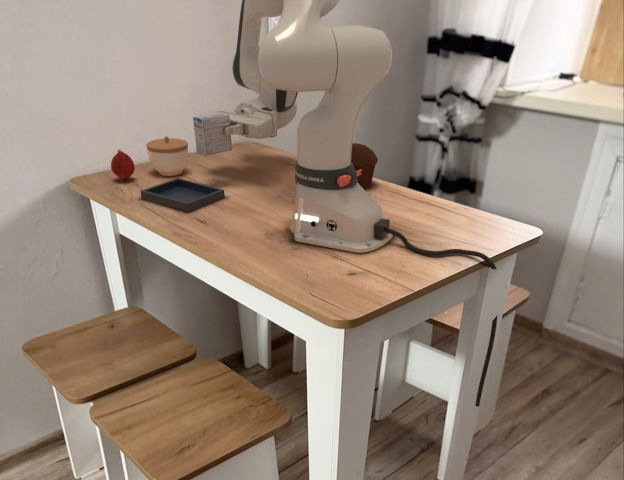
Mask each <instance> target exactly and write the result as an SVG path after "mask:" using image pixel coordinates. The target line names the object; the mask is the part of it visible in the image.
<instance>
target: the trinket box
mask: <svg viewBox="0 0 624 480" xmlns="http://www.w3.org/2000/svg"><path fill="white" fill-rule="evenodd" d="M145 146H146V150H147V156H148V159H149V162H150V164H151V166H152V168H153V169H154V170H155V171H156V172H158V174H159V175H160V176H164V177H173V176H178V175H180V174H182V173H183V171H184V170H185V168H186V167H187V164H188V160H189V148H188V147H189V143H188V141H187V140H184V139H183V138H174V137H173V138H171V137H170V138H169V136H164V137H163V138H158V139H153V140H150V141H148V142H147V143H146V145H145Z"/></svg>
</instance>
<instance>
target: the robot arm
mask: <svg viewBox="0 0 624 480" xmlns="http://www.w3.org/2000/svg"><path fill="white" fill-rule="evenodd" d="M339 2H340V0H241V5H240V12H239V21H238V30H237V41H236V48H235V49H236V50H235V54H234V58H233V61H232V67H231V69H232V70H231V71H232V75H233V78H234V80H235V83H236V84H237V85H238V86H239V87H243V88H245V89H247V90H250V91H252V92H255V93H257V94H258V97H257V98H255V99H251V100H247V101H242V102H240V103H239V104H238V105H237V106H236V107H235V110H234V111H232V110H227V109H212V110H207V111H203V112H201V113H200V114H199V116H201V115H207V114H213V113H224V114H227V115H229V116H230V126H226V127H223V134H224V135H228V136H229V135H231V136H233V135H237V136H243V137H245V138H248V139H258V140H260V139H262V140H263V139H267V138H271V139H272V138H276V137H278V130H280V129H282V128H284V127H286V126H287V125H289V124H291V122H292V121H293V120H294V119H295V118H296V115H297V111H298V107H297V102H296V100H297V98H298V94H299V93H306V92H307V93H308V92H324V93H323V95H322V98H321V100H320V102H319V103H318V105H317V106H316V107H314V108H313V109H311V110H310V111H308V112H307V113H305V114H304V115H303V116H302V117H301V119H300V121H299V123H298V125H297V129H296V155H297V156H296V161H295V163H294V164H295V165H294V181H295V185H296V189H295V200H294V206H293V213H292V216H291V220H290V221H291V222H290V224H289V230H290V232H291V233H292V234H293V236H294V237H293V240H294V241H295V242H298V243H302V244H309V245H313V246H319V247H324V248H329V249H334V250H341V251H346V252H351V253H352V252H353V253H356V254H364V253H368V252H372V251H375V250H377V249H379V248H382V247H383V246H384V245H386V244H387V243H388V242H390V241H391V240H392V239H393V236H395V237H397V238H398V239H399V240H400V241H401V242H402V243H403V245H404V246H405V247H406V248H408V249H409V250H411V251H413V252H414V253H416V254H421V255H425V256H430V257H431V256H433V257H440V256H447V255H464V256H465V255H466V256H472V257H477V258H479V259H481V260H483V261H484V262H485V263H486V264H487V265H488V267H489V268H490V269H492V270H498V268H497V265H496V264H495V263H494V262H493V260H492V259H491V258H490V257H489V256H488V255H486V254H484V253H482V252H480V251H476V250H469V249H462V248H450V249H443V250H429V249H423V248H419V247H416V246H415V245H413V244H412V243H410V242H409V241H408V240H407V237H406V236H404V235H403V233H400V232H399V231H397V230H394V229H393V228H392V227H390V224H391V220H390V219H386V218H384V217H383V210H382V207H381V206H380V204H379V202H377V201H376V200H375V199H374V198H373V197H372V196H371V195H370V194H369V193H368V192H367V191H366V189H363V188H362V187H361V186H360V185H359V184H358V183H357V182H358V180H357V176H359V175H361V174H362V173H360V172H361V171H362V169H360V170H358V171H355V169H354V167H353V164H352V162H351V152H352V143H353V142H354V141H353V140H354V134H355V133H354V131H355V126H356V121H357V118H358V116H359V113H360V111H361V109H362V107H363V105H364V104H365V101H366V100H367V98H368V97H369V95H370V94H371V93H372V92H373V90H375V88H377V87H378V86H379V85H380V84H382V83H383V82H384V80H385V79H386V77H387V76H388V74H389V72H390V70H391V67H392V62H393V49H392V45H391V41H390V40H389V37H388V36H387V34H386V33H385V32H384V30H381V29H378V28H375V27H371V26H366V25H360V24H353V25H352V24H347V25H346V24H345V25H344V24H343V25H342V24H341V25H327V24H324V23H323V22H322V20H321V18H323V17H325V16H327V15H328V14H329V13H330V12H332V10H334V9H335V7H336V6H338V4H339ZM277 17H279V19H278V21H277V23H276V24H275V25H274V26H273V28H272V29H271V30H270V31H268V33H266V35H265V36H264V38H263V40H262V41H261V43H260V37H261V30H262V23H263V18H277ZM359 173H360V174H359ZM498 316H499V315H498V314H497V315H496V316H495V317H493V320H492V321H491V327H490V329H491V330H490V334H489V341H488V345H487V350H486V355H485V359H484V363H483V366H482V372H481V376H480V379H479V380H480V381H479V384H478V388H477V393H476V399H475V405H474V406H475V407H477V408H478V407H480V405H481V400H482V396H483V395H482V394H483V390H484V385H485V380H486V378H487V373H488V369H489V364H490V362H491V356H492V354H493V353H492V352H493V348H494V344H495V343H494V342H495V337H496V331H497V325H498Z"/></svg>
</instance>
